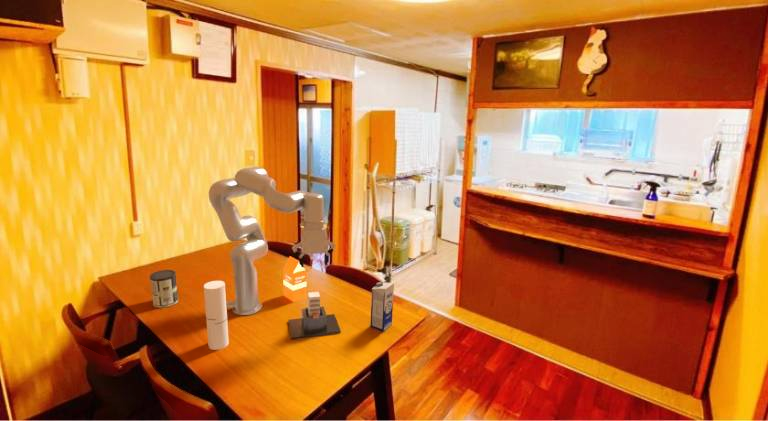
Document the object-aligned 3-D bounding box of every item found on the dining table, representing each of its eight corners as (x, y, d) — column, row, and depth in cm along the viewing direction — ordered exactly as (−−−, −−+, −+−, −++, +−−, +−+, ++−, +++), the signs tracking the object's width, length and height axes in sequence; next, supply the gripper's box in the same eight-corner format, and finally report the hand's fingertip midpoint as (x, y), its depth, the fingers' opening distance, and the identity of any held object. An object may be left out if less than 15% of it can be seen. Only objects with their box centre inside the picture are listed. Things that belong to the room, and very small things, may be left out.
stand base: (291, 339, 150) (290, 320, 148) (288, 321, 163) (288, 303, 161) (340, 333, 157) (341, 314, 155) (334, 316, 170) (334, 298, 167)
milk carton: (383, 332, 159) (385, 288, 154) (370, 327, 162) (371, 284, 157) (392, 324, 165) (394, 282, 160) (379, 320, 168) (380, 278, 163)
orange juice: (297, 291, 192) (296, 254, 187) (306, 297, 186) (306, 259, 181) (283, 295, 186) (282, 257, 181) (292, 302, 180) (292, 263, 175)
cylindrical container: (212, 339, 149) (207, 280, 143) (231, 338, 149) (227, 280, 143) (205, 350, 142) (200, 289, 136) (225, 349, 143) (221, 289, 136)
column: (309, 328, 157) (309, 298, 153) (308, 322, 161) (307, 292, 158) (320, 327, 158) (320, 296, 155) (318, 321, 162) (318, 291, 159)
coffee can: (168, 295, 182) (165, 268, 178) (183, 300, 178) (180, 272, 174) (147, 304, 173) (144, 275, 169) (162, 309, 168) (159, 280, 165)
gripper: (292, 228, 143) (293, 270, 147) (337, 226, 148) (337, 266, 153) (290, 223, 150) (291, 263, 154) (333, 221, 155) (333, 260, 159)
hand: (314, 265), depth 153 cm, fingers open, 9 cm apart
